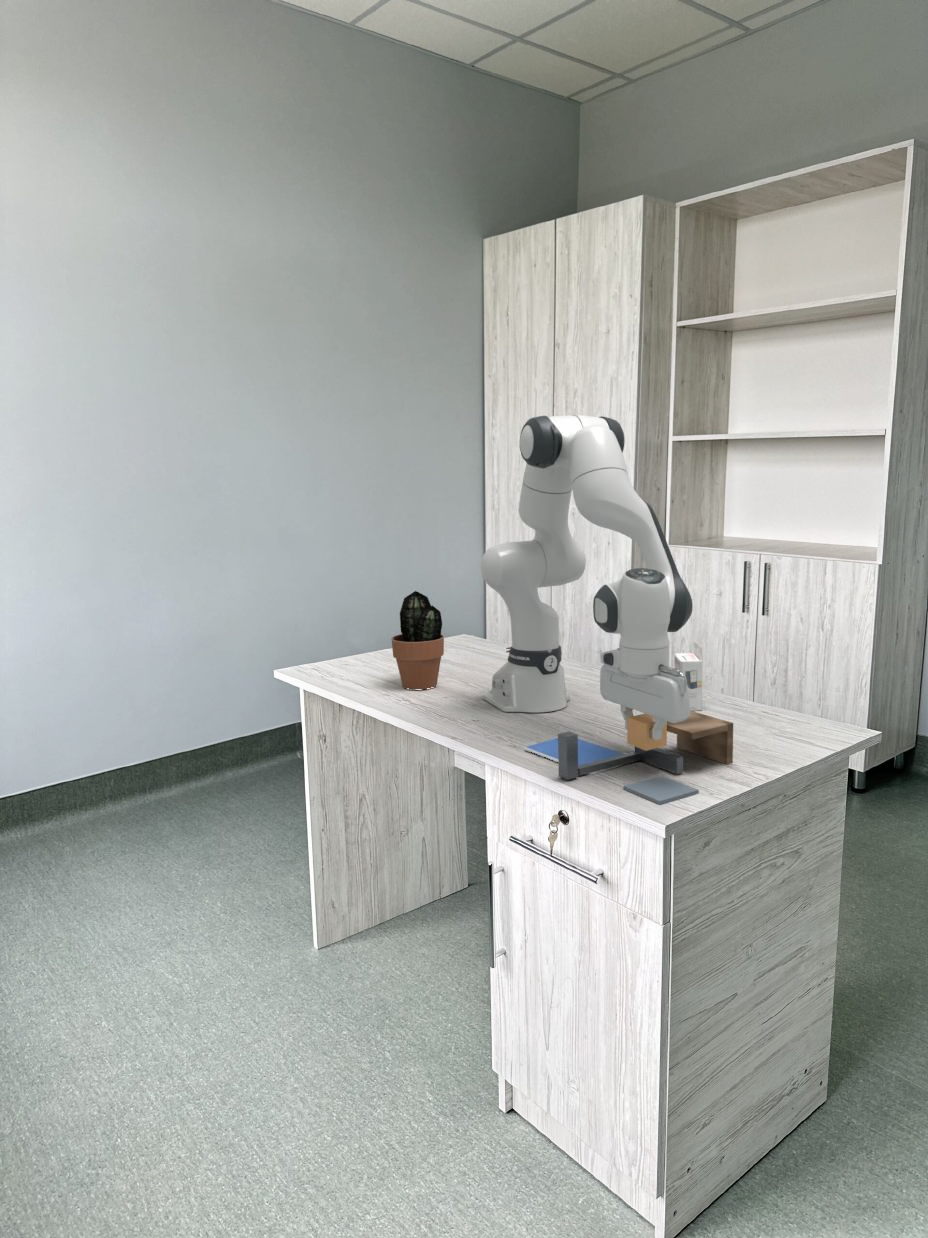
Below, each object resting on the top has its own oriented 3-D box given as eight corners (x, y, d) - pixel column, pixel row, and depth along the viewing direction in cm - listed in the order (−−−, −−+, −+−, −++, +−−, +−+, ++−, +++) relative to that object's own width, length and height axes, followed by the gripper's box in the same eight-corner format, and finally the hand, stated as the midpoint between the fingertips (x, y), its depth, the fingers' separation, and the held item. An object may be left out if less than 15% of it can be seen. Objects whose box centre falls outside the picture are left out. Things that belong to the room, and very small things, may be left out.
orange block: (627, 743, 166) (627, 717, 165) (647, 738, 168) (648, 712, 167) (645, 750, 161) (646, 724, 160) (666, 745, 164) (667, 719, 163)
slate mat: (623, 789, 157) (623, 785, 157) (661, 778, 161) (661, 775, 161) (659, 804, 149) (659, 801, 149) (698, 793, 154) (698, 789, 154)
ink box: (673, 701, 212) (673, 640, 210) (694, 701, 212) (694, 639, 210) (680, 711, 204) (681, 647, 201) (702, 711, 204) (703, 647, 201)
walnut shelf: (642, 755, 174) (642, 717, 173) (682, 745, 180) (682, 708, 178) (692, 774, 163) (692, 733, 162) (732, 762, 169) (733, 723, 167)
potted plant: (388, 693, 229) (384, 595, 225) (399, 680, 243) (394, 588, 238) (441, 693, 227) (438, 595, 223) (449, 680, 241) (445, 587, 237)
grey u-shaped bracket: (558, 776, 163) (558, 733, 162) (638, 755, 173) (638, 715, 172) (600, 795, 154) (600, 750, 152) (682, 772, 163) (683, 729, 162)
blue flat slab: (637, 763, 172) (637, 756, 172) (589, 778, 165) (589, 771, 164) (568, 740, 187) (568, 734, 187) (522, 753, 180) (521, 746, 180)
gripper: (699, 668, 154) (697, 746, 157) (620, 647, 171) (619, 717, 174) (672, 674, 151) (670, 753, 154) (594, 652, 168) (594, 723, 171)
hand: (643, 734), depth 164 cm, fingers closed on orange block, 5 cm apart
